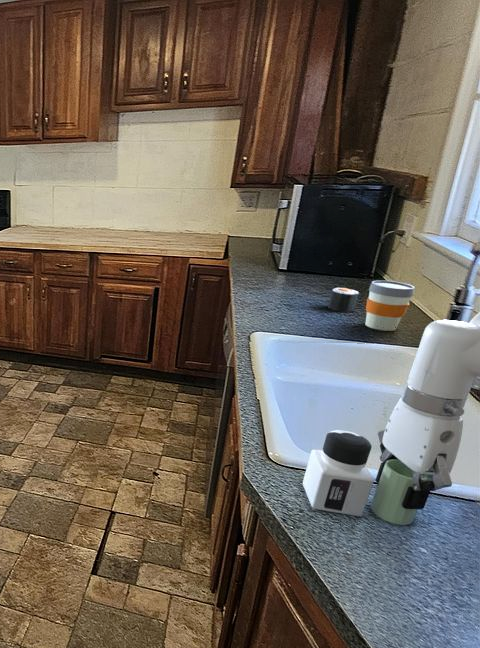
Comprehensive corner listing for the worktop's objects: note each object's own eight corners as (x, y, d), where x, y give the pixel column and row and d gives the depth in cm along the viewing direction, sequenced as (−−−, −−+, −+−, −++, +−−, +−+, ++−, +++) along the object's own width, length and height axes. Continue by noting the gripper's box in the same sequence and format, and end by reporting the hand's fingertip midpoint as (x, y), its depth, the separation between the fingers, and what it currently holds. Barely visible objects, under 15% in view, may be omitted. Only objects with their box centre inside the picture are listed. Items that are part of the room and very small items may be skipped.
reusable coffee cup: (357, 319, 193) (369, 278, 187) (399, 324, 187) (412, 283, 182) (361, 328, 183) (373, 286, 177) (404, 334, 177) (418, 291, 171)
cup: (397, 502, 93) (413, 459, 90) (421, 525, 88) (439, 480, 84) (363, 502, 93) (377, 458, 90) (385, 524, 88) (401, 479, 84)
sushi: (344, 313, 199) (349, 292, 196) (323, 307, 206) (328, 287, 203) (358, 310, 202) (363, 290, 199) (337, 305, 209) (342, 285, 206)
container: (362, 518, 89) (384, 452, 84) (311, 509, 91) (330, 444, 86) (348, 491, 96) (368, 429, 91) (301, 483, 98) (318, 422, 93)
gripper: (504, 427, 74) (460, 530, 81) (417, 377, 90) (387, 466, 97) (450, 426, 74) (411, 529, 81) (373, 376, 90) (345, 465, 97)
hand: (398, 494), depth 89 cm, fingers closed on cup, 6 cm apart
